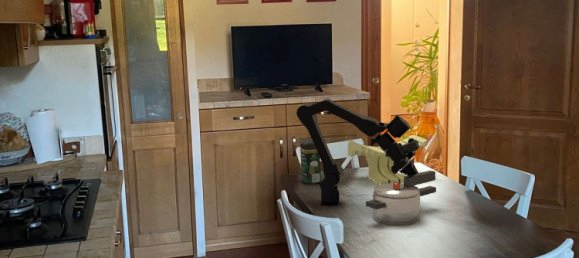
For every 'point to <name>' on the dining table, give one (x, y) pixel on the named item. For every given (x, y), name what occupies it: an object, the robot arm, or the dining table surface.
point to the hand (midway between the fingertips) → (420, 178)
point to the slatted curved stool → (380, 160)
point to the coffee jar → (309, 162)
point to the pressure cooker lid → (405, 186)
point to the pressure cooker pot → (398, 208)
